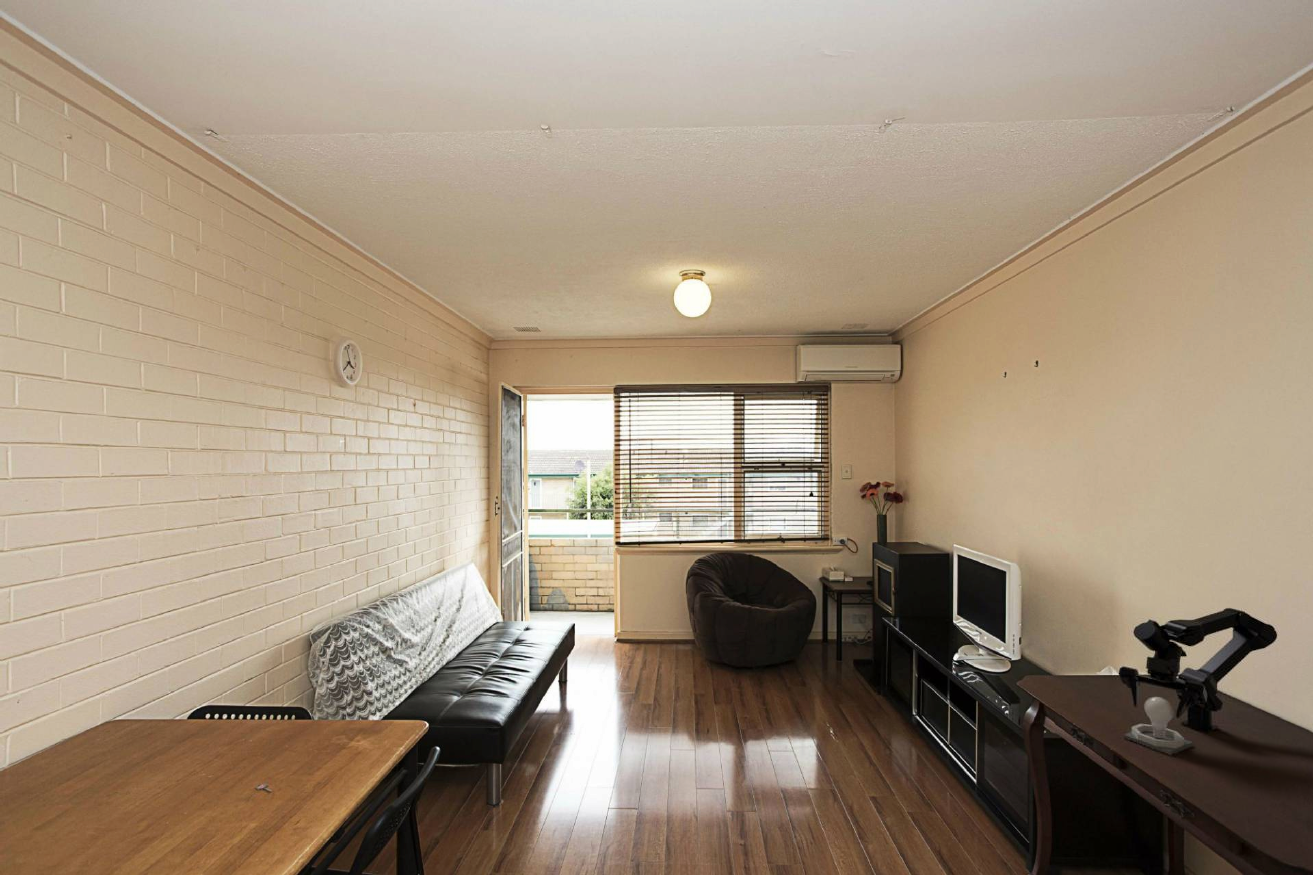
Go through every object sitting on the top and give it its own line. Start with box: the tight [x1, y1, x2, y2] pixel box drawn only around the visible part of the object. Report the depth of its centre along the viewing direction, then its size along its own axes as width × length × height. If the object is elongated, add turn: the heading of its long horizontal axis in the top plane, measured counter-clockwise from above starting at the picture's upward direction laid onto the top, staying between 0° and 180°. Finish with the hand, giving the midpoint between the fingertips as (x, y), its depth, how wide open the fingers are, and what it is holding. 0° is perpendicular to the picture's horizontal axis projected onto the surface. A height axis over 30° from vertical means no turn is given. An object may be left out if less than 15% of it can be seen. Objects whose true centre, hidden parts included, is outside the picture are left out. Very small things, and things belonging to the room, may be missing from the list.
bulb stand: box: [1123, 723, 1193, 756], centre depth 177 cm, size 11×11×2 cm
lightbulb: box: [1143, 696, 1175, 739], centre depth 177 cm, size 6×6×11 cm
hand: (1155, 711), depth 176 cm, fingers open, 9 cm apart
